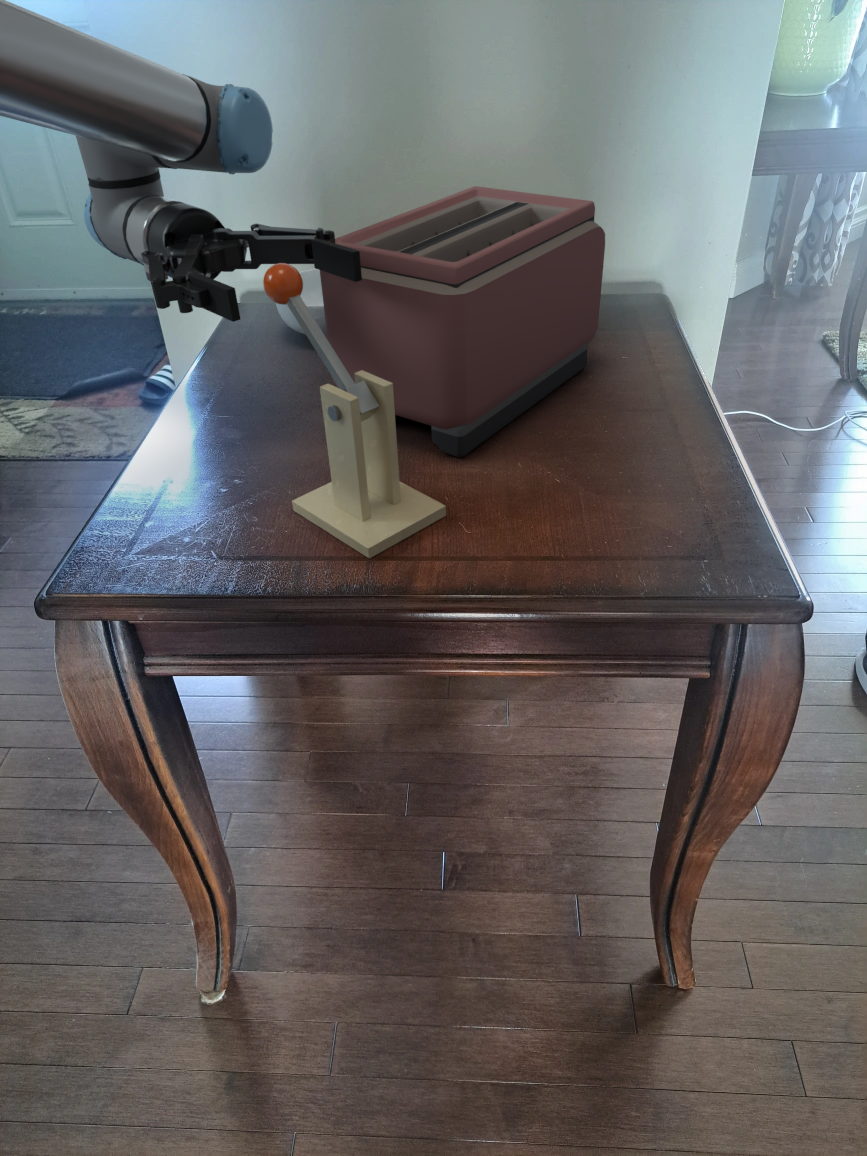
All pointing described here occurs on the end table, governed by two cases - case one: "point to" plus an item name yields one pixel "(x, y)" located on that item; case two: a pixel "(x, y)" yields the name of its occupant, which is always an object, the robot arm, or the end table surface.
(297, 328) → the cereal bowl
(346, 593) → the end table surface
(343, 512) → the bracket
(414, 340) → the toaster
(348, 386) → the lever
